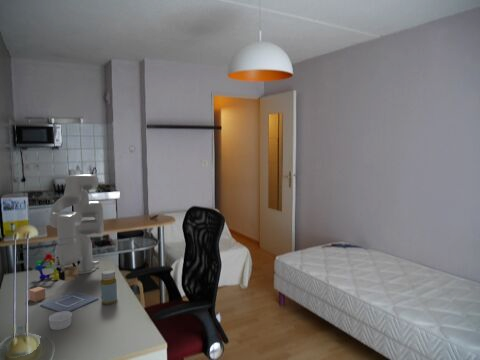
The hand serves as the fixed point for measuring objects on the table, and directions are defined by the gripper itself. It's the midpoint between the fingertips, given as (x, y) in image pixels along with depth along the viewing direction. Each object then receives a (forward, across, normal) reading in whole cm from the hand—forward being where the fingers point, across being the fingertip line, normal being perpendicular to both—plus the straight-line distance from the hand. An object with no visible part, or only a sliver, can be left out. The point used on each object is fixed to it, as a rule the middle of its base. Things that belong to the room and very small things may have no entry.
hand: (68, 277), depth 171 cm
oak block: (+1, 0, 0) cm, 1 cm away
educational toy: (+13, -14, -39) cm, 44 cm away
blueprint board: (+13, 0, 0) cm, 13 cm away
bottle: (+13, -10, +16) cm, 23 cm away
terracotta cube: (+13, +5, -18) cm, 23 cm away
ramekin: (+13, +16, +17) cm, 27 cm away
